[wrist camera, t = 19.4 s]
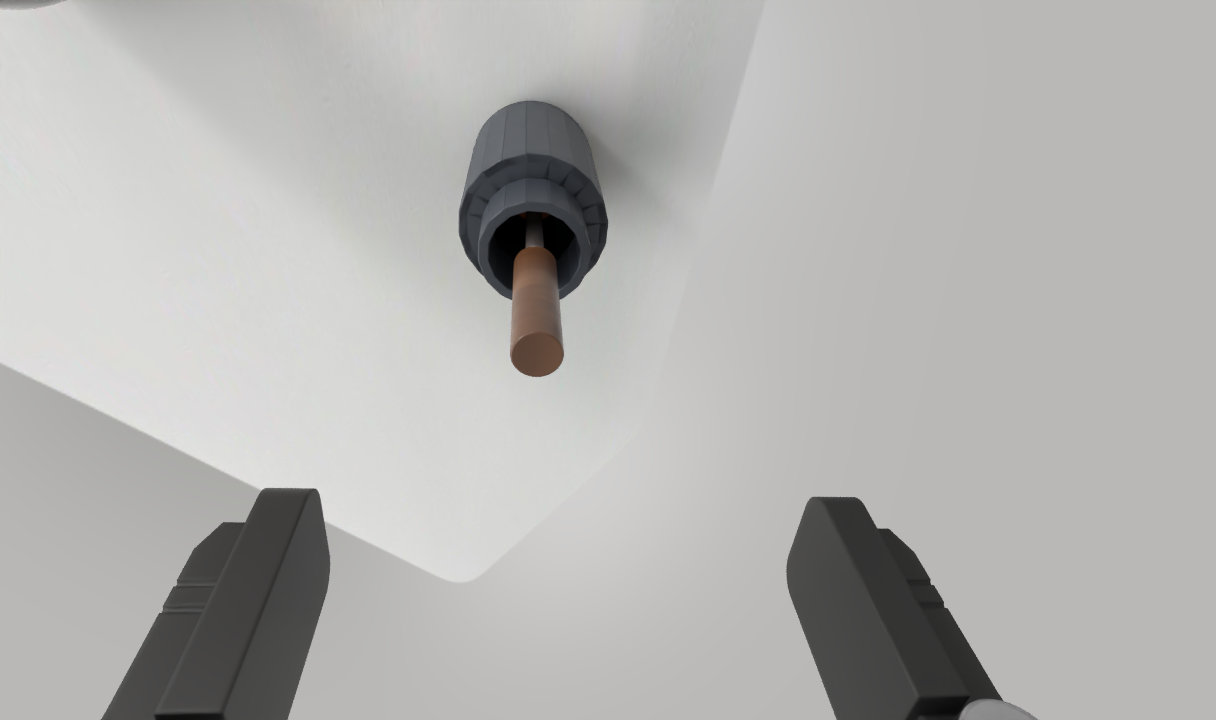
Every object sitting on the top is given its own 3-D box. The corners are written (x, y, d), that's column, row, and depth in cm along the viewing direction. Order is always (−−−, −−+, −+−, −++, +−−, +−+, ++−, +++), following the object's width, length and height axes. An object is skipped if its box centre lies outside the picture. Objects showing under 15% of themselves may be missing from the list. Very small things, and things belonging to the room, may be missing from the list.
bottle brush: (553, 146, 45) (574, 327, 25) (551, 184, 47) (568, 385, 27) (514, 142, 45) (503, 323, 25) (512, 181, 46) (500, 382, 26)
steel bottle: (596, 107, 45) (624, 183, 32) (584, 220, 49) (605, 329, 36) (474, 95, 44) (452, 169, 31) (473, 212, 48) (452, 321, 35)
